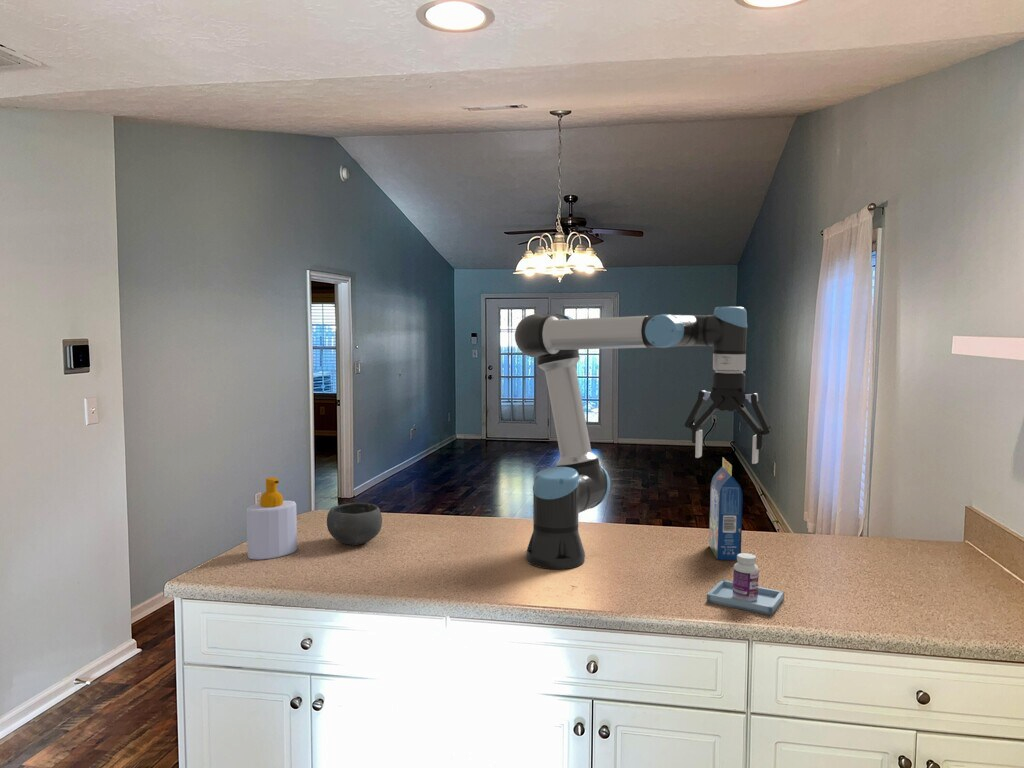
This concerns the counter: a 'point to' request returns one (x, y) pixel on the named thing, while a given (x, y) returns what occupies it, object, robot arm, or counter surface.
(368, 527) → the bowl
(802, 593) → the counter surface
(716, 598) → the tray
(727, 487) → the blue food package
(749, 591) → the pill bottle
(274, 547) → the soap bottle
